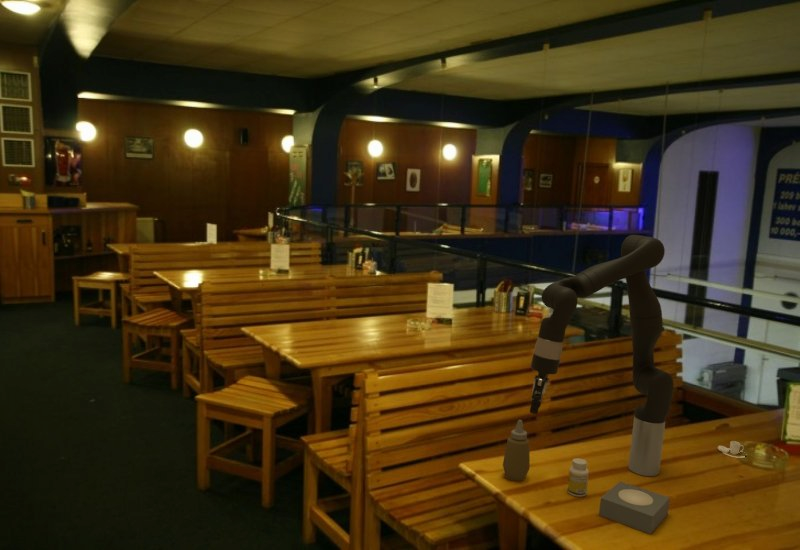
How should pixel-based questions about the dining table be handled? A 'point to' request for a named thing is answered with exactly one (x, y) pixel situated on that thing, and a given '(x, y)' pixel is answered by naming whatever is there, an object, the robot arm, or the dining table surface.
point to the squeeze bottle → (517, 454)
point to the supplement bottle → (578, 478)
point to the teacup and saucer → (732, 449)
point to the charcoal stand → (634, 507)
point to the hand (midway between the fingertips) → (534, 409)
